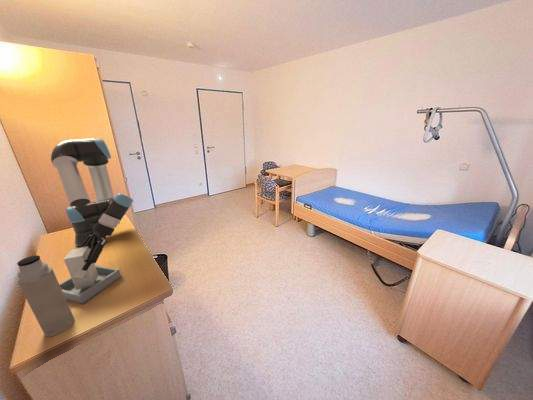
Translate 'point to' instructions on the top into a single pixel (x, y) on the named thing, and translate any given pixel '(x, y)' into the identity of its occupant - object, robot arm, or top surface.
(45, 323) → the thermos bottle
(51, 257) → the top surface
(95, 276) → the skincare box
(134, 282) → the top surface
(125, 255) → the top surface
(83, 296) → the tray
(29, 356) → the top surface
